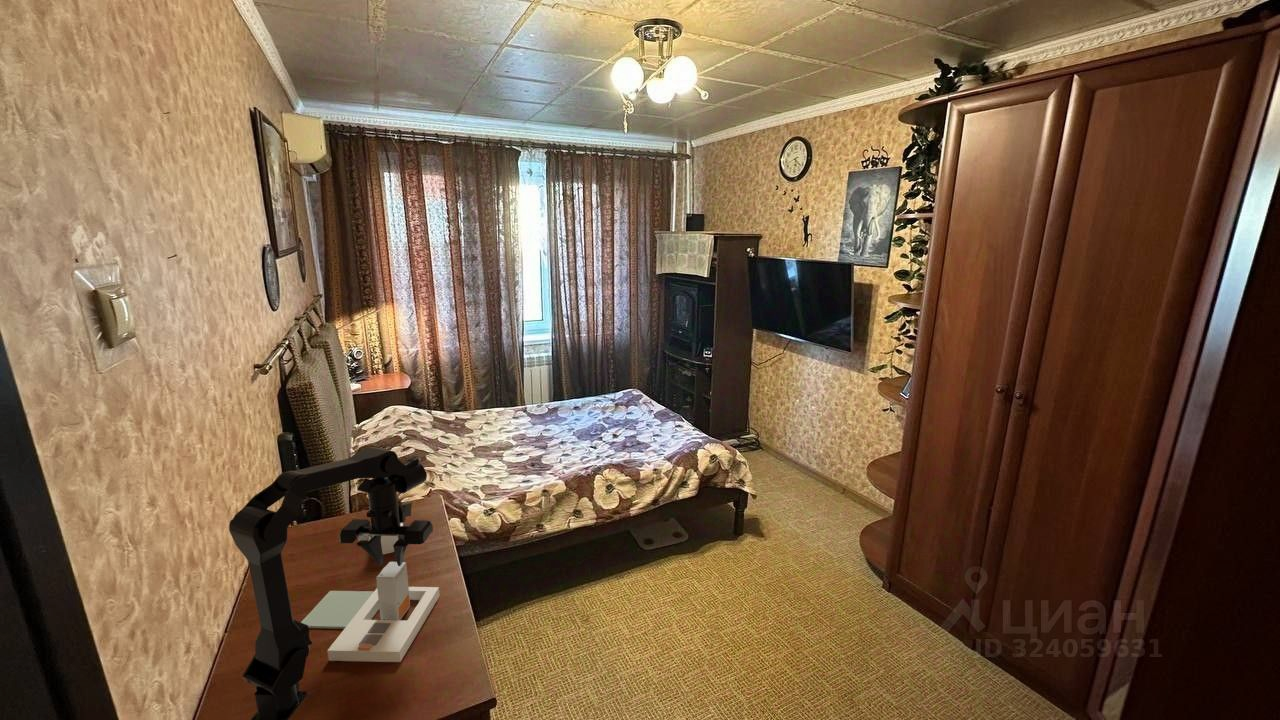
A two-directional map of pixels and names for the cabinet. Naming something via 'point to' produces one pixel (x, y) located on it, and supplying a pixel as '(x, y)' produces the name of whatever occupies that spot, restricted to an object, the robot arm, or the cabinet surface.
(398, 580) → the skincare box
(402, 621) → the cream rectangular frame
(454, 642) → the cabinet surface
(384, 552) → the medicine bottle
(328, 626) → the mat
